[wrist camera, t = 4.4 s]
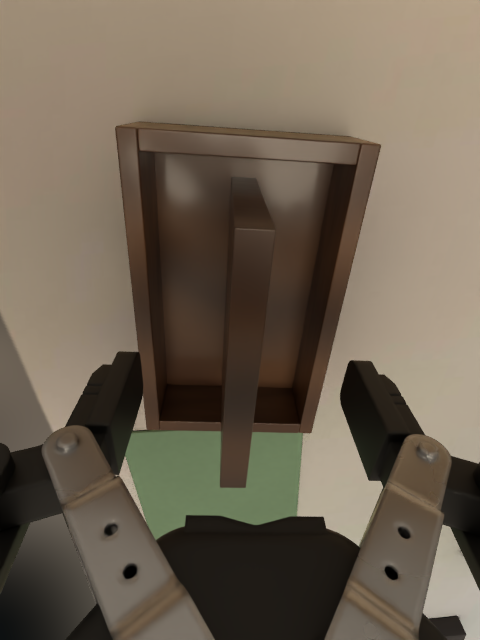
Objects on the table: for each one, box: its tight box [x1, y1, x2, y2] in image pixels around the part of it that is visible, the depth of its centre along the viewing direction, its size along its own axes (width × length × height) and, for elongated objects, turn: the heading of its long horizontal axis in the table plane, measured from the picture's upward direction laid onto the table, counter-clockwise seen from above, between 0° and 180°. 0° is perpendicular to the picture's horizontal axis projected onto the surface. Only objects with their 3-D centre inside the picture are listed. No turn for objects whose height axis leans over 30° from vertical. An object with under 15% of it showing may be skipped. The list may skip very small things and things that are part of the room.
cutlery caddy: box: [115, 122, 381, 488], centre depth 17 cm, size 16×10×9 cm, turn 176°
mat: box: [125, 430, 303, 540], centre depth 33 cm, size 24×14×1 cm, turn 2°
